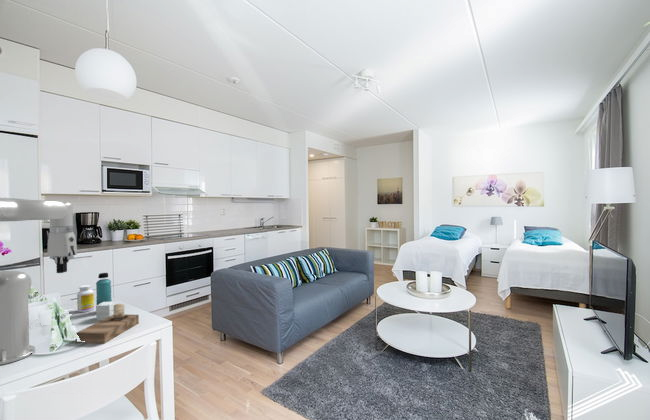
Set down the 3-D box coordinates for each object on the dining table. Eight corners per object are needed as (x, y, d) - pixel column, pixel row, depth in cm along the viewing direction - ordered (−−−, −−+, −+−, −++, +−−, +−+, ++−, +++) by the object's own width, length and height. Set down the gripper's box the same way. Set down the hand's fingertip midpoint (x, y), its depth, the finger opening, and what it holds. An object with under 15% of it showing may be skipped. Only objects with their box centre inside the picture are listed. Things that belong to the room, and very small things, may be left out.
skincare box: (116, 315, 150) (116, 300, 150) (109, 320, 144) (109, 305, 144) (103, 316, 150) (103, 301, 149) (96, 320, 143) (95, 305, 143)
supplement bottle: (97, 308, 160) (96, 284, 159) (84, 313, 153) (83, 288, 153) (87, 307, 161) (86, 283, 161) (74, 312, 155) (73, 287, 154)
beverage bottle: (103, 314, 152) (102, 275, 151) (92, 313, 153) (92, 274, 152) (115, 309, 158) (114, 272, 157) (104, 308, 159) (103, 271, 159)
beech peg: (120, 329, 134) (119, 306, 134) (111, 328, 134) (110, 306, 134) (126, 325, 138) (126, 303, 138) (118, 324, 139) (118, 303, 138)
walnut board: (104, 343, 121) (104, 333, 120) (76, 342, 121) (76, 332, 121) (138, 323, 141) (138, 314, 140) (114, 322, 141) (114, 314, 141)
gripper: (84, 229, 133) (85, 271, 133) (55, 229, 135) (55, 270, 135) (68, 231, 126) (68, 274, 126) (37, 230, 128) (37, 273, 128)
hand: (61, 272), depth 131 cm, fingers closed
